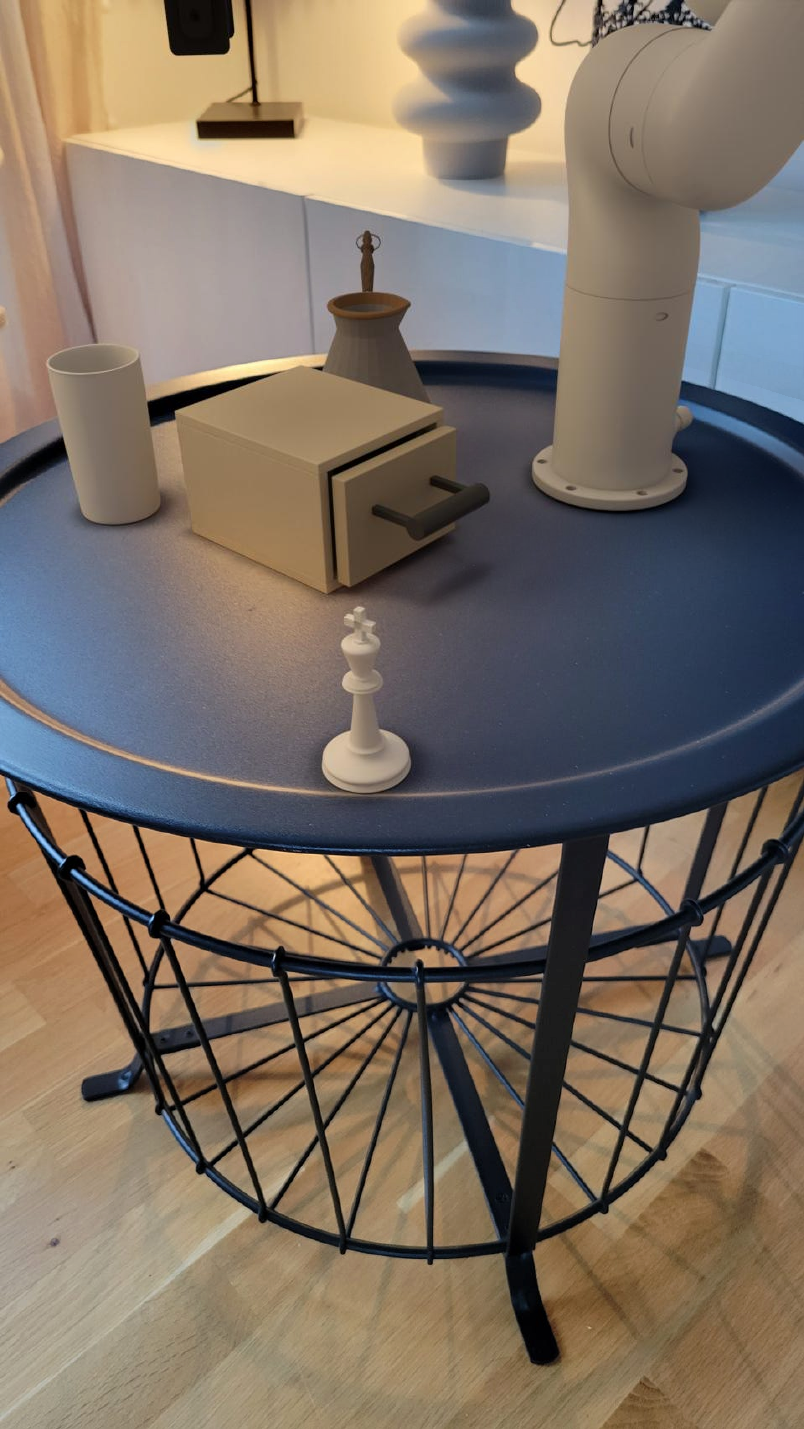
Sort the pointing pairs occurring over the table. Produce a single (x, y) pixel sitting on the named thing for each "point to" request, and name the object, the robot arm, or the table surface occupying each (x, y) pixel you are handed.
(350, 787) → the chess piece
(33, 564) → the table surface
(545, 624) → the table surface
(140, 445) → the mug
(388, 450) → the drawer
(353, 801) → the table surface
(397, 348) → the coffee pot
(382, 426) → the cabinet
